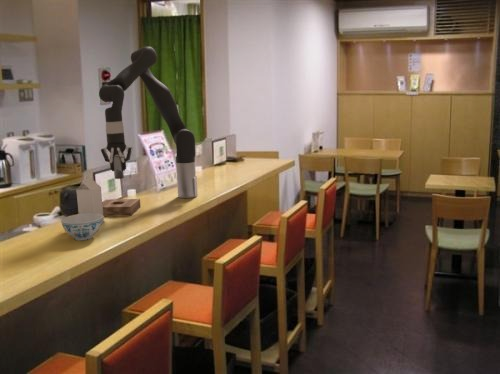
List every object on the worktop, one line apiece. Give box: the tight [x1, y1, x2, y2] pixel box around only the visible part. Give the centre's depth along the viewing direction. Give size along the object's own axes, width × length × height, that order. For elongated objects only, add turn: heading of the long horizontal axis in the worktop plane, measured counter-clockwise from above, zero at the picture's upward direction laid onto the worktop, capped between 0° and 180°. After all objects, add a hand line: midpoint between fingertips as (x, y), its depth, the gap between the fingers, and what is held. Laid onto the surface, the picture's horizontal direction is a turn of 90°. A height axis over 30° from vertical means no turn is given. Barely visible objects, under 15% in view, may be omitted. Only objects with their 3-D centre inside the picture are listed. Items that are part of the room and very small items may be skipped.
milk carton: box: [75, 176, 105, 224], centre depth 240 cm, size 7×7×19 cm
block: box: [102, 198, 142, 217], centre depth 261 cm, size 16×16×4 cm
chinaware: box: [60, 213, 103, 241], centre depth 220 cm, size 15×15×8 cm
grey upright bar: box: [113, 155, 125, 180], centre depth 256 cm, size 4×4×10 cm
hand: (118, 170), depth 256 cm, fingers closed on grey upright bar, 4 cm apart
